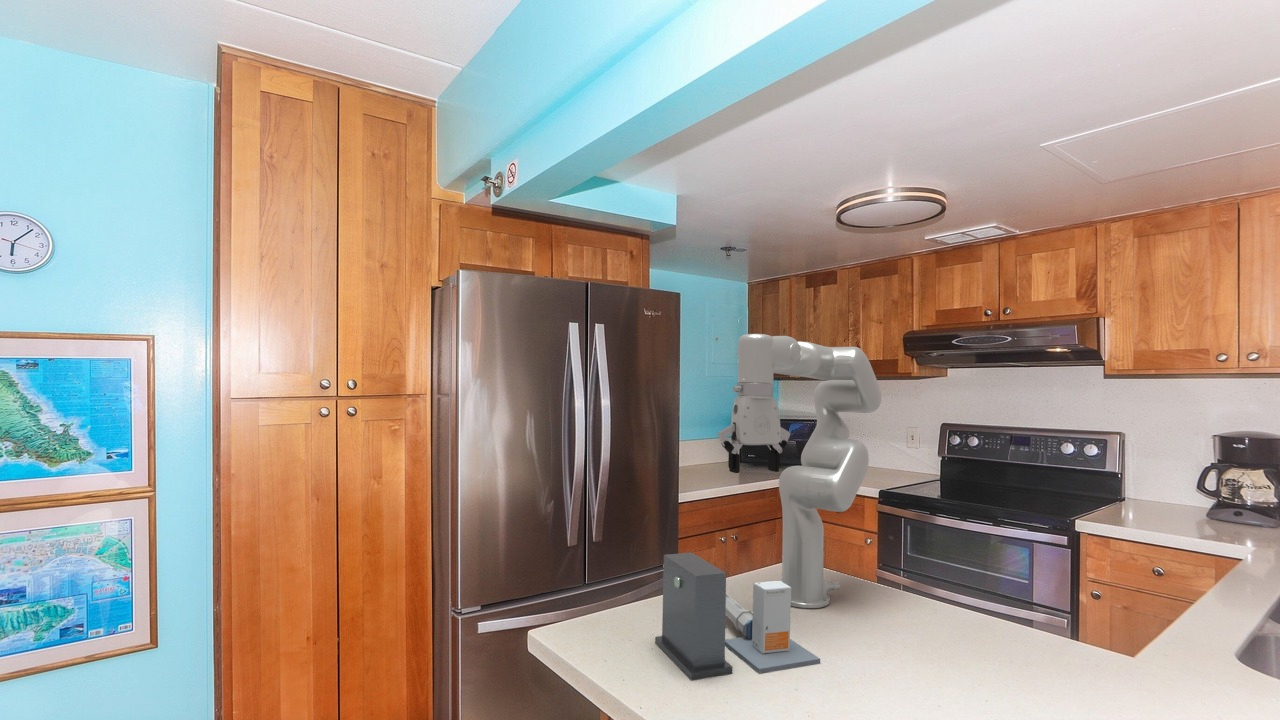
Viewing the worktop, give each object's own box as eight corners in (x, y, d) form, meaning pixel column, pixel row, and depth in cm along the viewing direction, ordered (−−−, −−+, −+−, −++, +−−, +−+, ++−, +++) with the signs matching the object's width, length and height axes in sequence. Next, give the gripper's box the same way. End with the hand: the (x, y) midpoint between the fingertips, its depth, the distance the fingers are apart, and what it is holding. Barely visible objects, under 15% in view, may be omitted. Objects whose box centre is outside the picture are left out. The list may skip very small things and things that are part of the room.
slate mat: (779, 635, 124) (779, 631, 124) (820, 663, 112) (820, 658, 112) (723, 644, 120) (723, 639, 120) (759, 673, 108) (759, 668, 108)
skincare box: (762, 654, 113) (763, 589, 114) (751, 645, 117) (752, 582, 118) (791, 651, 115) (792, 586, 116) (779, 642, 119) (780, 579, 120)
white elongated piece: (742, 620, 119) (692, 570, 143) (740, 653, 120) (690, 597, 143) (766, 617, 121) (712, 568, 145) (763, 650, 121) (711, 595, 145)
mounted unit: (692, 637, 122) (693, 550, 123) (732, 673, 107) (734, 574, 108) (655, 643, 119) (657, 553, 120) (691, 680, 105) (693, 578, 105)
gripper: (728, 391, 125) (727, 475, 124) (799, 392, 131) (798, 473, 131) (711, 390, 132) (709, 470, 131) (779, 392, 138) (778, 468, 138)
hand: (754, 471), depth 131 cm, fingers open, 9 cm apart
